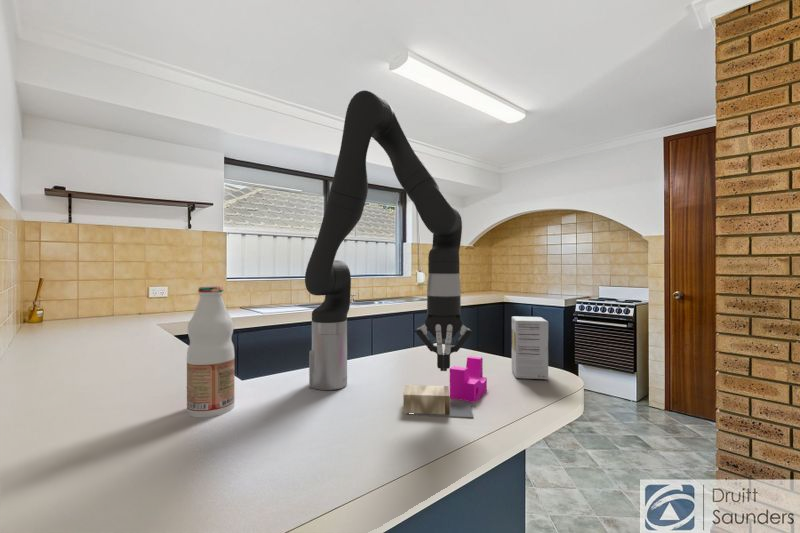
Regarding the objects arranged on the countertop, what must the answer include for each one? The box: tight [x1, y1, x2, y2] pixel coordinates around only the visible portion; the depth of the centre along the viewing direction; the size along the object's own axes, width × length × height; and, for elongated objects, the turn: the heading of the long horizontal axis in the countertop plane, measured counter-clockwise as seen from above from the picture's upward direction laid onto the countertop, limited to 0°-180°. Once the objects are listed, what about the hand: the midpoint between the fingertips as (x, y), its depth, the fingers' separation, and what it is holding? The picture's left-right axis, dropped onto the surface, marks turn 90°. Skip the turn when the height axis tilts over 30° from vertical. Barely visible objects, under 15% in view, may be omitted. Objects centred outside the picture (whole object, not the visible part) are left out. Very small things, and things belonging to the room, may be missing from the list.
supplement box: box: [511, 315, 549, 380], centre depth 116 cm, size 10×9×17 cm
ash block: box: [402, 384, 451, 414], centre depth 88 cm, size 4×7×10 cm
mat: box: [406, 401, 475, 419], centre depth 88 cm, size 16×9×1 cm, turn 85°
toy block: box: [449, 355, 488, 403], centre depth 101 cm, size 15×6×8 cm, turn 151°
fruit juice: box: [186, 286, 236, 418], centre depth 85 cm, size 9×9×28 cm
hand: (443, 370), depth 88 cm, fingers closed
